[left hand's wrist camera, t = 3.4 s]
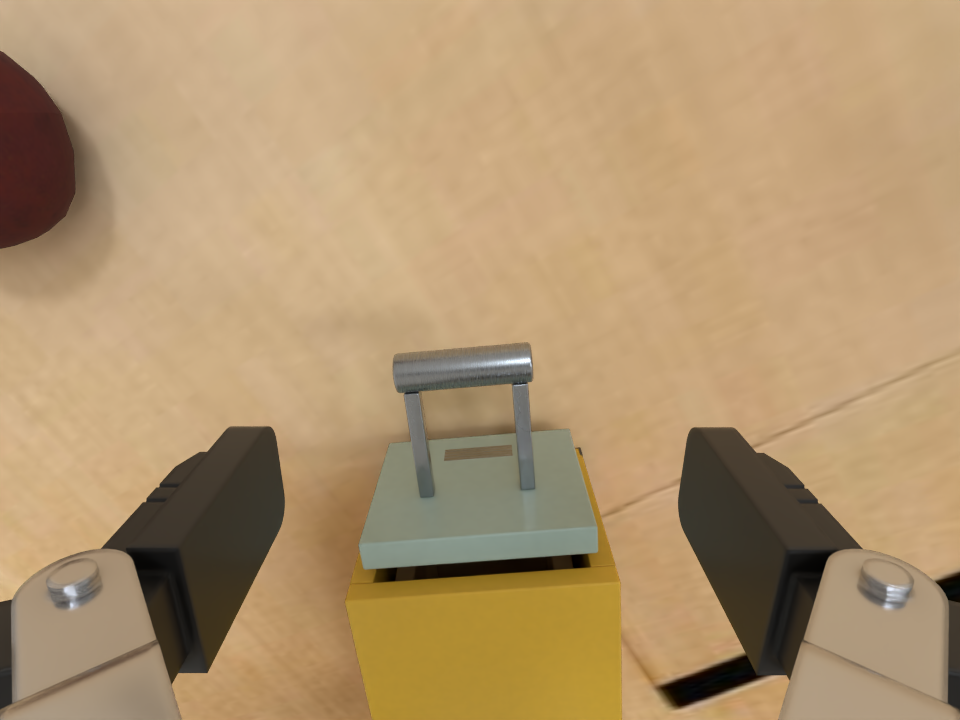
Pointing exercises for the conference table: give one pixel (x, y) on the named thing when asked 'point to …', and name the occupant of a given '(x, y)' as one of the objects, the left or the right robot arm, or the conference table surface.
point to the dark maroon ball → (31, 158)
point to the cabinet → (492, 641)
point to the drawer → (476, 482)
